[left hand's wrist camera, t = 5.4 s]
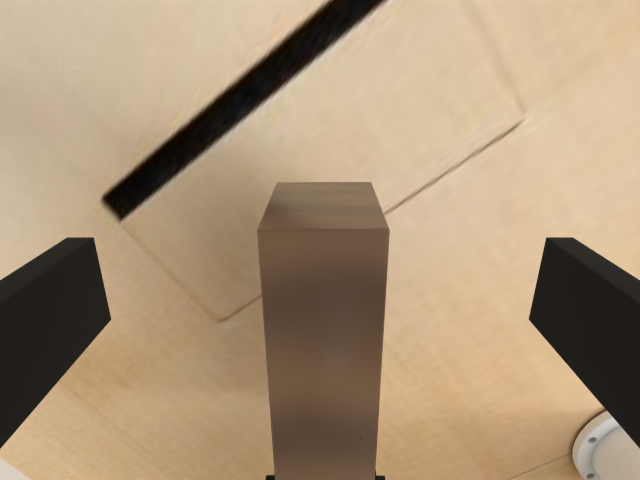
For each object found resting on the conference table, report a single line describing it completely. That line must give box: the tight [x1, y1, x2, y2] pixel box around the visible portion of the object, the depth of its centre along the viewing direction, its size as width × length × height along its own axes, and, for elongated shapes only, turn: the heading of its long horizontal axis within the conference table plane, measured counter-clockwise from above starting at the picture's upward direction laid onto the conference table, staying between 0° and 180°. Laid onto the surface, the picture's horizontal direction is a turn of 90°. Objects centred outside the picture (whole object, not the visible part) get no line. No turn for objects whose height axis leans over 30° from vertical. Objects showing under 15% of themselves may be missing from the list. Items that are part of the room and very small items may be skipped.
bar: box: [257, 182, 390, 480], centre depth 26 cm, size 24×6×8 cm, turn 1°
